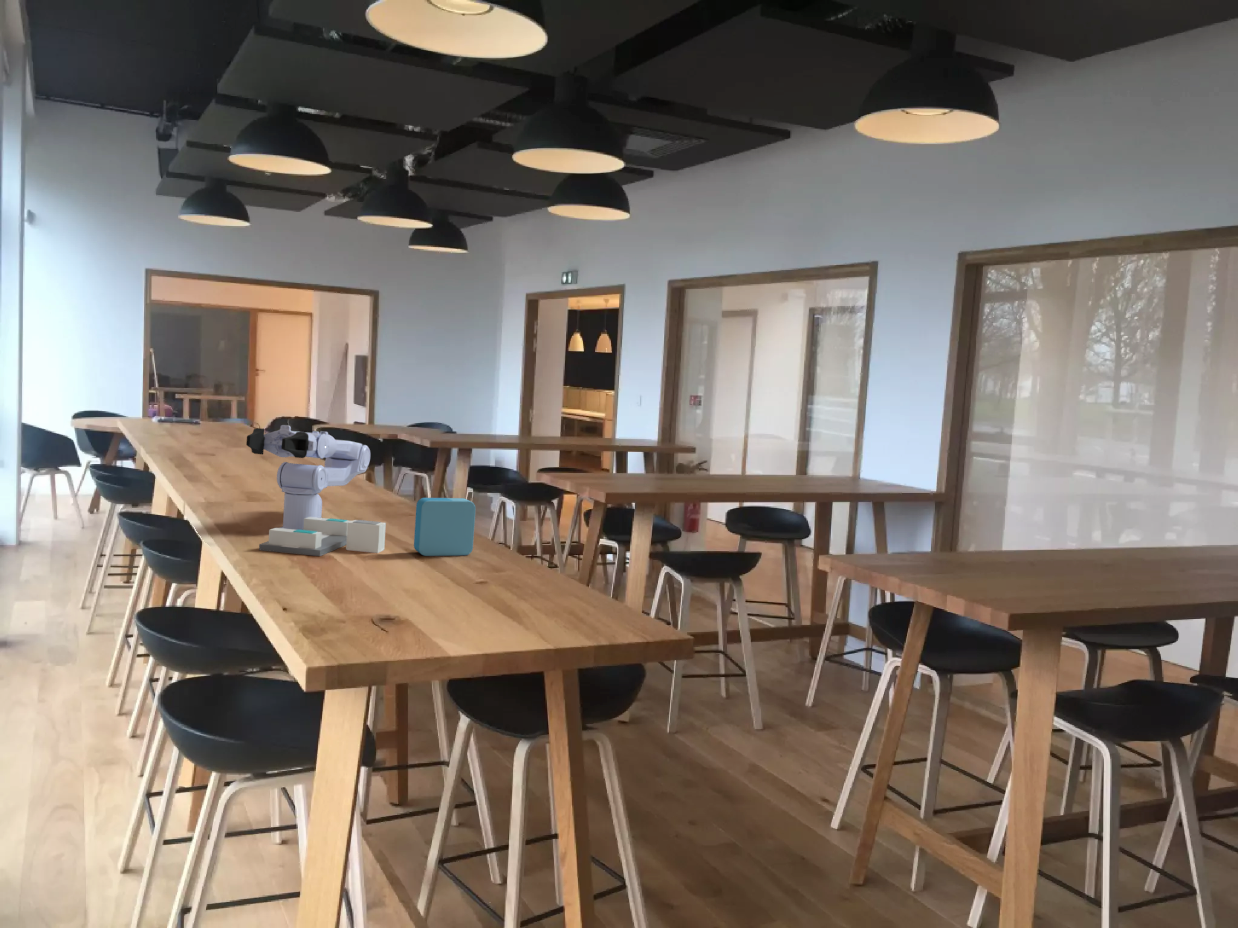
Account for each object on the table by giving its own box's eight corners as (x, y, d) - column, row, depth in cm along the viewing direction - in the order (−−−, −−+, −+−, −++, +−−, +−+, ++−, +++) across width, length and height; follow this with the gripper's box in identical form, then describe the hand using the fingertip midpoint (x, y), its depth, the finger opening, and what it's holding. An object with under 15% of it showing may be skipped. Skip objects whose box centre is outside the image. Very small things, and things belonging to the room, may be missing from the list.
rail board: (304, 533, 219) (305, 514, 219) (359, 539, 218) (360, 520, 218) (259, 549, 198) (260, 529, 197) (320, 556, 196) (321, 535, 196)
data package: (466, 551, 214) (469, 498, 213) (472, 555, 210) (476, 501, 209) (413, 552, 209) (416, 497, 208) (418, 556, 205) (422, 500, 204)
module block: (353, 546, 209) (354, 519, 209) (384, 550, 209) (385, 522, 208) (346, 550, 205) (347, 521, 205) (377, 553, 205) (379, 524, 204)
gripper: (263, 423, 216) (234, 420, 203) (326, 428, 215) (300, 426, 201) (261, 454, 216) (231, 453, 203) (323, 460, 215) (297, 459, 201)
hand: (265, 442), depth 202 cm, fingers open, 7 cm apart
